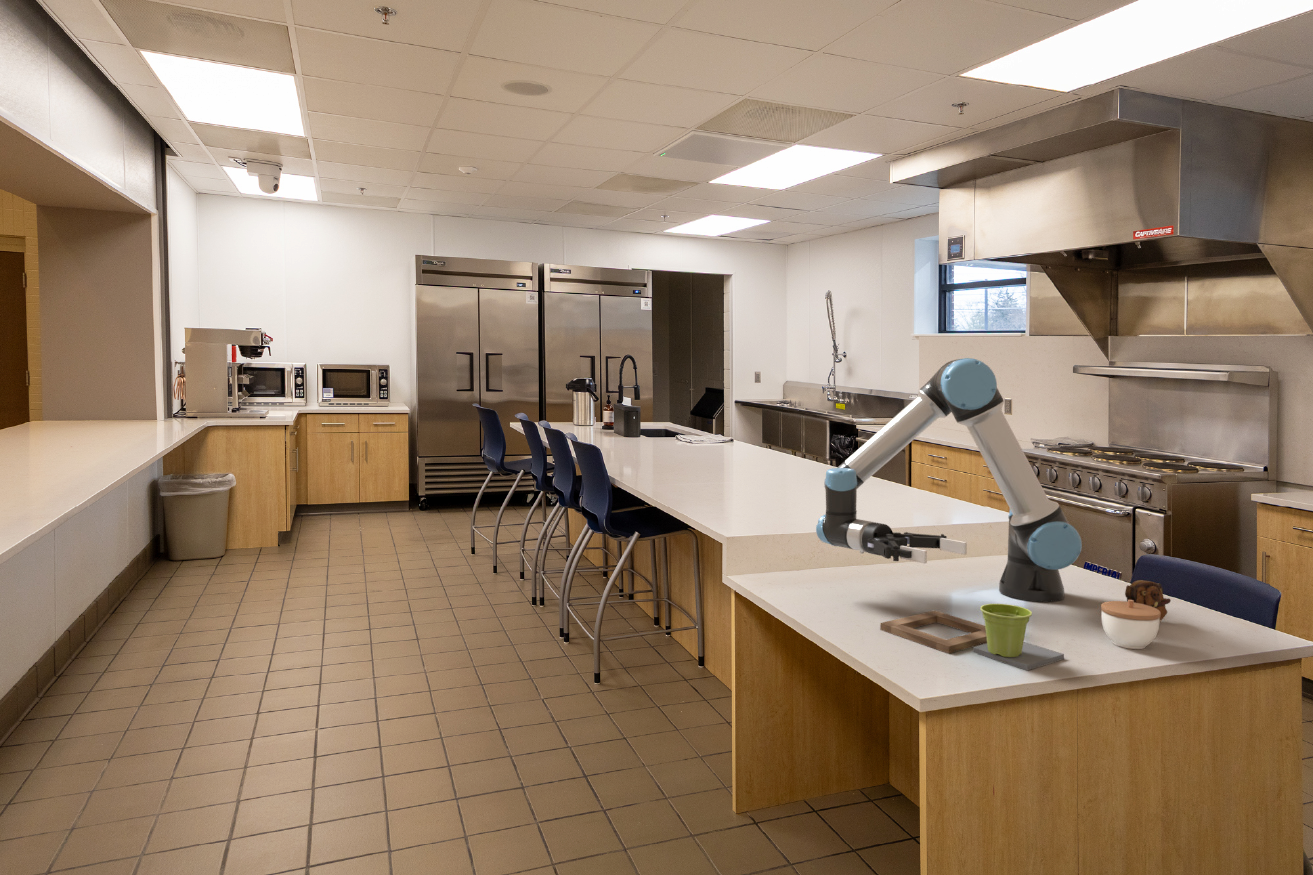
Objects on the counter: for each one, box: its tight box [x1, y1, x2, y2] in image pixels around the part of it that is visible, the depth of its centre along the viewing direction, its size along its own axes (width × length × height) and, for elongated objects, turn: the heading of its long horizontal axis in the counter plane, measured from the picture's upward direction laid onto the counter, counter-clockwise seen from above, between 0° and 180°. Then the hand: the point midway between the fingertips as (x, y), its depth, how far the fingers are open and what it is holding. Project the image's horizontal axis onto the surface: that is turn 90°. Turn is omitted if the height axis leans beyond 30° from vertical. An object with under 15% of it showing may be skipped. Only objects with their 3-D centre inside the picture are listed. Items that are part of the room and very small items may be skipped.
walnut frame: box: [879, 610, 987, 655], centre depth 176 cm, size 18×18×2 cm
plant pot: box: [979, 603, 1033, 657], centre depth 161 cm, size 9×9×9 cm
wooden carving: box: [1124, 579, 1171, 623], centre depth 182 cm, size 16×5×10 cm, turn 122°
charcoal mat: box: [972, 641, 1065, 671], centre depth 163 cm, size 12×12×1 cm
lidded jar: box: [1100, 600, 1161, 650], centre depth 169 cm, size 11×11×9 cm
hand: (946, 552), depth 177 cm, fingers open, 13 cm apart
